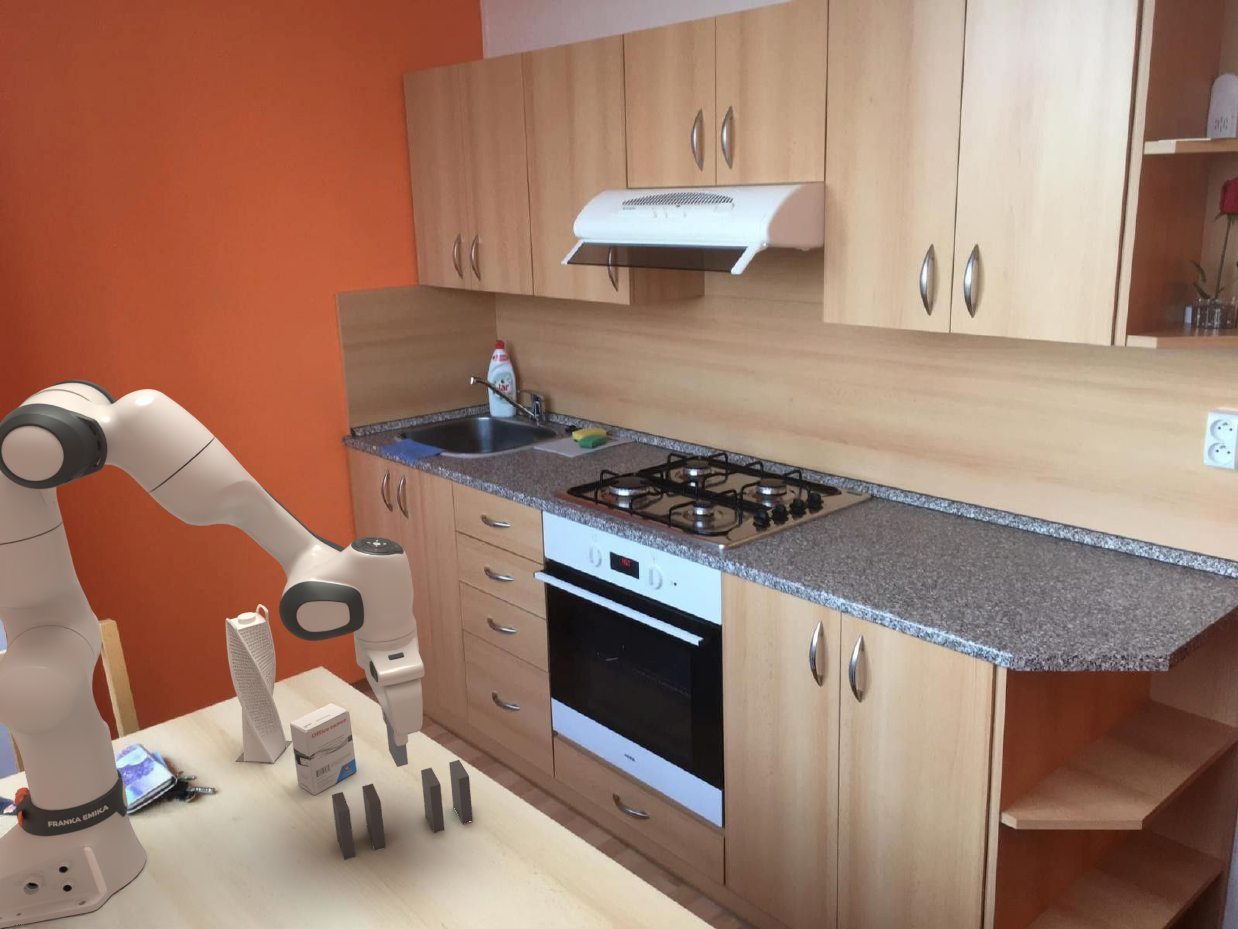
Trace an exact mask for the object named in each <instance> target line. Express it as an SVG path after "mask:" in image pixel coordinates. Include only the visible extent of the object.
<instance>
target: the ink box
mask: <svg viewBox="0 0 1238 929" xmlns="http://www.w3.org/2000/svg"><path fill="white" fill-rule="evenodd" d="M289 727H290V734H291V741H292V747H293V748H292V750H293V755H294V756H293V757H294V762H295V763H294V764H295V770H296V777H297V785H298V786H299V787H301V789H303V790H305V791H307V792H309V793H310V794H312V795H314V796H317V795H318V794H320V793H322V792H323V791H325V790H327V789H329V788H330V787H332V786H334V785H335V784H337V783H340V782H341V781H342V780H344V779H347V778H348V777H350V776H352V775H353V774H355V773H356V772H358V771H357V764H356V763H357V762H356V755H355V748H354V739H353V731H352V725H351V716H350V710H349V709H347V708H345V707H343V706H341V705H339V704H336V703H334V702H330V703H327V705H324V706H322V707H320V708H318V709H316V710H313V711H311V712H310V713H307V714H305V715H303V716H301V717H299V718H297V719H295V720H293V721H291V722H289Z"/></svg>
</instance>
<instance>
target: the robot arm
mask: <svg viewBox="0 0 1238 929" xmlns="http://www.w3.org/2000/svg"><path fill="white" fill-rule="evenodd" d="M105 465H110V466H114V467H117V468H119V469H120V470H122V471H124V472H125V473H127V474H128V475H129V476H131V478H132V479H134V481H135V482H136V483H137V484H138V485H139V486H141V487H142V489H144V490H145V491H146V493H148V494H149V495H150V497H152V498H153V499H154V500H155V501H156V502H157V503H158V505H160V506H161V507H162V508H163V509H164V510H166V511H167V512H168V513H169V514H171V515H172V516H174V517H176V518H177V519H178V520H180V521H182V522H184V523H185V524H187V525H190V526H199V527H200V526H202V527H203V526H211V525H212V526H213V525H217V524H219V525H222V524H223V525H229V526H233V527H235V528H238V529H240V530H241V531H242V532H244V533H245V534H247V535H248V536H249V537H250V538H251V539H252V540H254V542H256V543H257V544H258V545H259V546H260V547H261V548H262V549H263V550H265V551H266V553H268V554H269V555H270V556H271V557H272V558H274V560H275V561H277V562H278V563H279V565H281V567H282V569H283V571H284V572H285V576H286V580H287V581H286V584H285V585H284V589H283V592H282V595H281V598H280V601H279V605H278V606H279V608H278V614H279V618H280V621H281V623H282V624H283V626H284V627H285V629H286V630H287V631H288V632H289V633H290V634H291V635H293V636H294V637H297V638H298V639H300V640H304V641H310V642H319V641H321V642H322V641H324V640H329V639H330V640H331V639H334V638H335V639H336V638H338V637H342V636H347V635H350V634H352V633H353V640H354V641H353V642H354V648H355V649H354V650H355V658H356V665H358V666H359V667H360V668H361V669H362V670H364V672H365V677H366V680H367V682H368V683H369V685H370V688H371V689H372V691H373V693H374V695H375V697H376V699H377V701H378V703H379V706H380V707H381V708H380V709H381V712H382V714H381V715H382V719H383V722H384V724H385V725H386V717H385V714H386V716H387V718H388V720H389V722H390V724H391V726H392V728H393V730H394V731H393V737H394V741H395V743H396V745H397V746H401V745H405V744H406V745H407V744H408V742H409V736H408V735H412V734H415V733H418V732H420V731H421V730H422V726H423V720H424V718H423V717H424V714H423V711H424V710H423V709H424V707H423V706H424V704H423V688H422V682H421V678H423V677H424V676H425V664H424V662H423V659H422V656H421V653H420V647H419V646H420V645H419V639H418V628H417V620H416V618H415V616H414V612H413V605H414V604H413V603H414V600H415V597H414V596H415V595H414V594H415V593H414V585H413V578H412V571H411V567H410V562H409V558H408V555H407V553H406V551H405V549H404V548H403V547H402V546H401V545H400V544H399V543H397V542H395V541H394V540H391V539H389V538H386V537H385V538H384V537H379V536H378V537H377V536H367V537H361V538H358V539H355V540H353V541H351V543H350V544H349V545H348V546H346V548H345V547H343V545H340V544H338V543H336V542H333V541H332V540H331V541H330V540H328V539H326V538H324V537H322V536H320V535H319V534H317V533H315V532H314V531H312V529H310V528H308V527H307V526H306V524H304V523H303V522H302V521H301V520H300V519H299V518H297V516H296V515H294V514H293V513H292V512H291V511H290V510H288V508H287V507H286V506H284V504H282V503H281V501H279V500H278V499H277V498H276V497H275V496H274V495H273V494H271V493H270V492H269V490H267V489H266V488H264V486H262V485H261V484H260V483H259V482H258V481H257V480H256V479H255V477H253V476H252V475H251V474H250V473H249V472H248V471H247V470H246V469H245V468H244V467H243V465H242V464H241V463H240V462H239V461H238V460H237V459H236V457H235V456H234V455H233V454H232V453H231V452H230V450H228V449H227V448H226V447H225V446H224V444H222V442H221V441H220V440H219V439H218V438H217V437H216V436H215V435H214V434H213V433H212V432H211V431H210V430H209V429H208V428H207V427H206V426H205V425H204V424H203V423H202V422H200V421H199V420H198V419H197V418H196V417H195V416H194V415H192V414H191V413H190V412H189V411H188V410H186V409H185V408H184V407H183V406H182V405H180V404H179V403H177V402H176V401H175V400H173V399H172V398H170V397H169V396H167V395H166V394H165V393H163V392H161V391H159V390H156V389H151V388H147V389H145V388H143V389H138V390H136V391H132V392H129V393H127V394H125V395H124V396H122V397H121V398H119V399H118V400H117V401H116V399H115V397H114V396H113V395H112V394H111V393H110V392H109V391H108V390H106V388H104V387H103V386H102V385H99V384H97V383H95V382H93V381H89V380H84V379H68V380H62V381H60V382H59V381H58V382H56V383H54V384H52V385H50V386H49V387H46V388H43V389H42V390H40V391H38V392H36V393H34V394H32V395H30V396H29V397H28V398H26V399H25V400H24V401H23V402H22V403H21V405H19V406H18V407H16V408H15V409H13V410H11V411H10V412H9V413H8V414H7V415H5V416H4V418H3V419H2V420H1V422H0V621H1V622H2V625H3V628H4V630H5V633H6V639H7V640H6V651H5V652H4V654H3V656H2V658H1V660H0V723H1V724H2V725H3V726H5V727H6V728H8V730H9V731H10V734H11V735H12V737H13V740H14V742H15V743H16V745H17V748H18V751H19V753H20V757H21V760H22V766H23V770H24V774H25V778H26V784H27V787H24V786H23V787H21V788H18V789H17V790H16V792H15V794H14V795H15V796H14V803H15V805H16V808H15V813H16V819H17V823H16V824H15V825H14V826H13V827H12V828H11V829H10V830H8V831H7V833H5V834H4V835H3V836H2V837H0V929H3V928H9V927H15V925H16V926H19V925H20V924H21V925H25V924H32V923H36V922H37V923H39V922H41V921H47V920H53V919H59V918H63V917H69V916H74V915H75V916H76V915H81V914H86V913H91V912H94V911H96V910H98V909H100V908H101V907H102V906H103V905H104V903H106V902H107V901H108V899H109V898H110V897H111V896H112V895H113V894H114V893H116V892H117V891H119V890H121V889H122V888H123V887H125V886H126V885H127V884H129V883H130V882H132V881H133V880H134V879H135V878H136V877H137V876H138V875H139V873H141V871H142V869H143V867H144V866H145V864H146V860H147V852H146V849H145V848H144V846H143V845H142V844H141V842H140V840H139V838H138V837H137V834H136V832H135V830H134V828H133V824H132V822H131V820H130V817H129V814H128V805H129V803H128V798H127V796H128V795H127V790H126V786H125V782H124V780H123V776H122V773H121V772H120V770H119V769H117V763H116V758H115V753H114V746H113V741H112V737H111V731H110V727H109V725H108V723H107V722H106V721H105V720H104V719H103V718H102V716H101V714H100V711H99V709H98V707H97V704H96V701H95V698H94V697H95V696H94V694H93V678H94V671H95V667H96V664H97V662H98V660H99V656H100V653H101V652H102V646H103V644H102V643H103V642H102V641H103V638H102V630H101V625H100V622H99V619H98V617H97V615H96V614H95V613H94V611H93V610H92V607H91V605H90V603H89V600H88V598H87V596H86V594H85V592H84V590H83V588H82V585H81V583H80V581H79V578H78V575H77V572H76V570H75V564H74V562H73V558H72V554H71V549H70V545H69V542H68V538H67V534H66V529H65V526H64V520H63V516H62V513H61V510H60V505H59V502H58V496H57V487H61V486H64V485H68V484H70V483H73V482H75V481H77V480H81V479H82V478H86V477H87V476H90V475H93V474H95V473H98V472H100V471H101V470H102V469H103V468H104V467H105ZM18 924H19V925H18ZM21 925H20V926H21Z"/></svg>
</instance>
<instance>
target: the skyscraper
mask: <svg viewBox="0 0 1238 929" xmlns="http://www.w3.org/2000/svg"><path fill="white" fill-rule="evenodd" d="M260 608H262V609H263V610H264V613H265V617H263V616H262V615H261V614H260V612H259V611H260ZM224 623H225V638H226V649H227V650H226V651H227V660H228V664H229V666H228V667H229V671H230V675H231V680H232V683H233V688H234V691H235V694H236V697H237V700H238V702H239V705H240V707H241V728H242V748H243V752H241V754H240V755H239V756H238V757H237V759H236V760H235V762H238V763H253V764H258V763H259V764H271V765H272V764H273V765H275V763H276V762H277V761H278V760H279V758H280V757H281V756H282V755H283V753H284V752H285V751H286V750H287V749H288V747H290V745H291V744H293V742H292V740H286V736H285V732H284V728H283V724H282V721H281V718H280V714H279V711H278V708H277V705H276V702H275V699H274V698H273V696H274V691H275V682H276V673H277V672H276V671H277V670H276V669H277V668H276V667H277V666H276V665H277V664H276V660H277V659H276V651H275V644H274V639H273V634H272V631H271V626H270V623H269V610H268V609H267V607H266V606H264V605H263V604H258V605H257V607H256V610H255V612H252V611H251V612H244V613H241V614H239V615H237V617H235V618H231V619H230V618H229V617H227V618H226V619H225V622H224Z"/></svg>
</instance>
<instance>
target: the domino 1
mask: <svg viewBox="0 0 1238 929" xmlns="http://www.w3.org/2000/svg"><path fill="white" fill-rule="evenodd" d="M331 800H332V809H333V816H334V817H333V818H334V825H335V833H336V838H337V839H336V840H337V841H336V842H337V843H338V847H339V849H340V853H341V855H342V858H343V861H346V860H349V859H353V858H355V857H356V854H355V853H356V852H355V844H354V837H353V836H354V835H353V828H352V819H351V810H350V807H349V805H348V801H347V799H346V797H345V794H344V792H343V791H340V792H337V793H333V794H331Z"/></svg>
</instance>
